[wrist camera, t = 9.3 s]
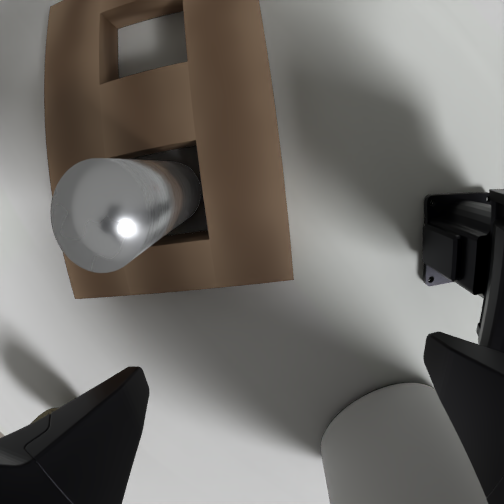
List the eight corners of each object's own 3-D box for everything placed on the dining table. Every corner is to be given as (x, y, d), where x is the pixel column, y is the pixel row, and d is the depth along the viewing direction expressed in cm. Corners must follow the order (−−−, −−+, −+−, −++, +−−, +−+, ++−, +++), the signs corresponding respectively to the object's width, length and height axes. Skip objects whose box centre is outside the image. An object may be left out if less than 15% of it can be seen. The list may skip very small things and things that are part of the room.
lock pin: (196, 156, 19) (138, 146, 9) (205, 219, 20) (157, 267, 10) (137, 167, 19) (43, 172, 9) (146, 227, 20) (63, 277, 10)
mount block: (250, -28, 15) (249, -51, 12) (288, 264, 20) (293, 279, 18) (69, 19, 16) (50, 6, 13) (94, 283, 21) (75, 299, 18)
